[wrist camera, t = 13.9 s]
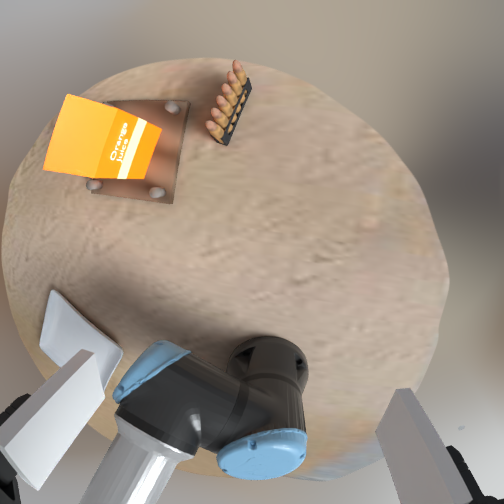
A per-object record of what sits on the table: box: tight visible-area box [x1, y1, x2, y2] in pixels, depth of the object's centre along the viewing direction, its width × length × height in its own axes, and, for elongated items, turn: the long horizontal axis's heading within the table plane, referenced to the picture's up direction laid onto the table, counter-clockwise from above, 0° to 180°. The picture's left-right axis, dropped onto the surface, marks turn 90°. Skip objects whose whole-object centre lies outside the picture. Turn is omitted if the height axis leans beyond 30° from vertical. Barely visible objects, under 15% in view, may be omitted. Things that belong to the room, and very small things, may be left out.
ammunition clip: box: [205, 60, 252, 146], centre depth 35 cm, size 11×2×12 cm, turn 159°
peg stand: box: [86, 100, 190, 204], centre depth 40 cm, size 17×16×4 cm
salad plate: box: [39, 290, 123, 392], centre depth 52 cm, size 21×21×3 cm
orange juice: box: [43, 94, 162, 179], centre depth 31 cm, size 8×9×20 cm
